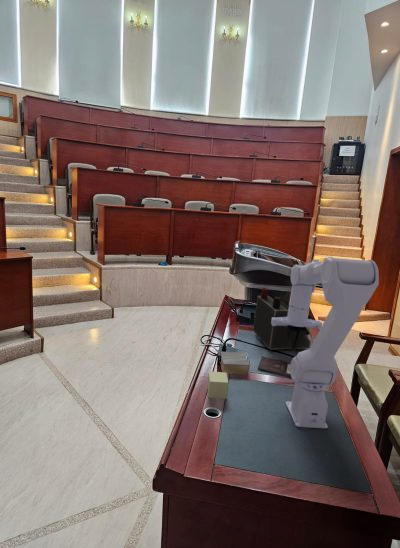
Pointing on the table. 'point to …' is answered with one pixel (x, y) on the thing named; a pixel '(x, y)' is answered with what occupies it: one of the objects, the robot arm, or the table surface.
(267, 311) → the voltmeter
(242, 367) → the beech slab
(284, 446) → the table surface
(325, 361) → the robot arm
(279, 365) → the chocolate bar
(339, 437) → the table surface
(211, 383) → the olive cube
